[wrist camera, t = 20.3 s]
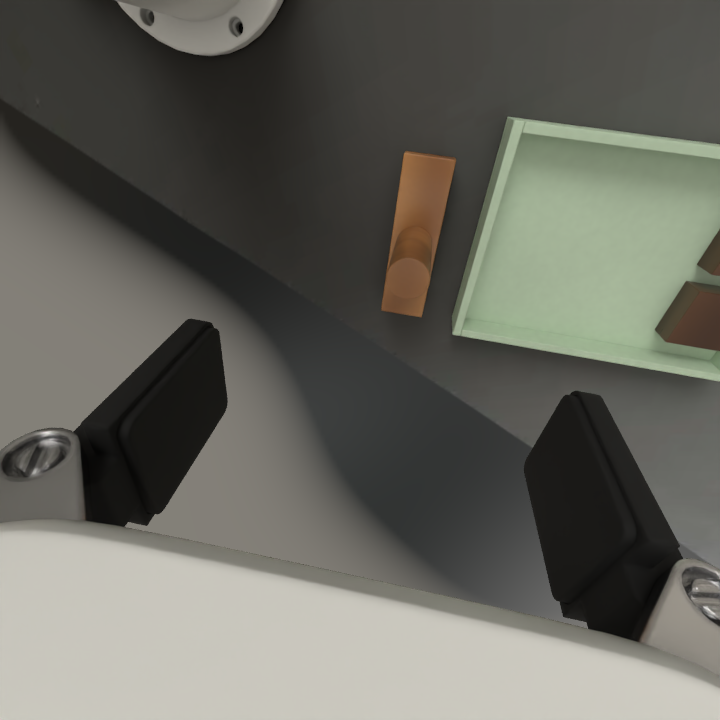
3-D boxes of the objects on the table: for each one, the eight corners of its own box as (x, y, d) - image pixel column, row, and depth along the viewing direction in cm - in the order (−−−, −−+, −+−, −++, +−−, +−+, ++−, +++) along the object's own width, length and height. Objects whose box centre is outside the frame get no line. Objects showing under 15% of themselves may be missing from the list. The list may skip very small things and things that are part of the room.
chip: (653, 329, 29) (665, 342, 27) (685, 280, 27) (700, 291, 25) (710, 339, 29) (724, 352, 27) (747, 290, 26) (765, 301, 25)
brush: (384, 297, 32) (369, 353, 25) (406, 147, 26) (394, 169, 19) (422, 303, 32) (417, 362, 25) (455, 154, 25) (460, 178, 18)
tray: (451, 317, 32) (452, 334, 30) (507, 116, 24) (514, 119, 21) (707, 361, 30) (728, 383, 28) (863, 163, 22) (911, 171, 20)
